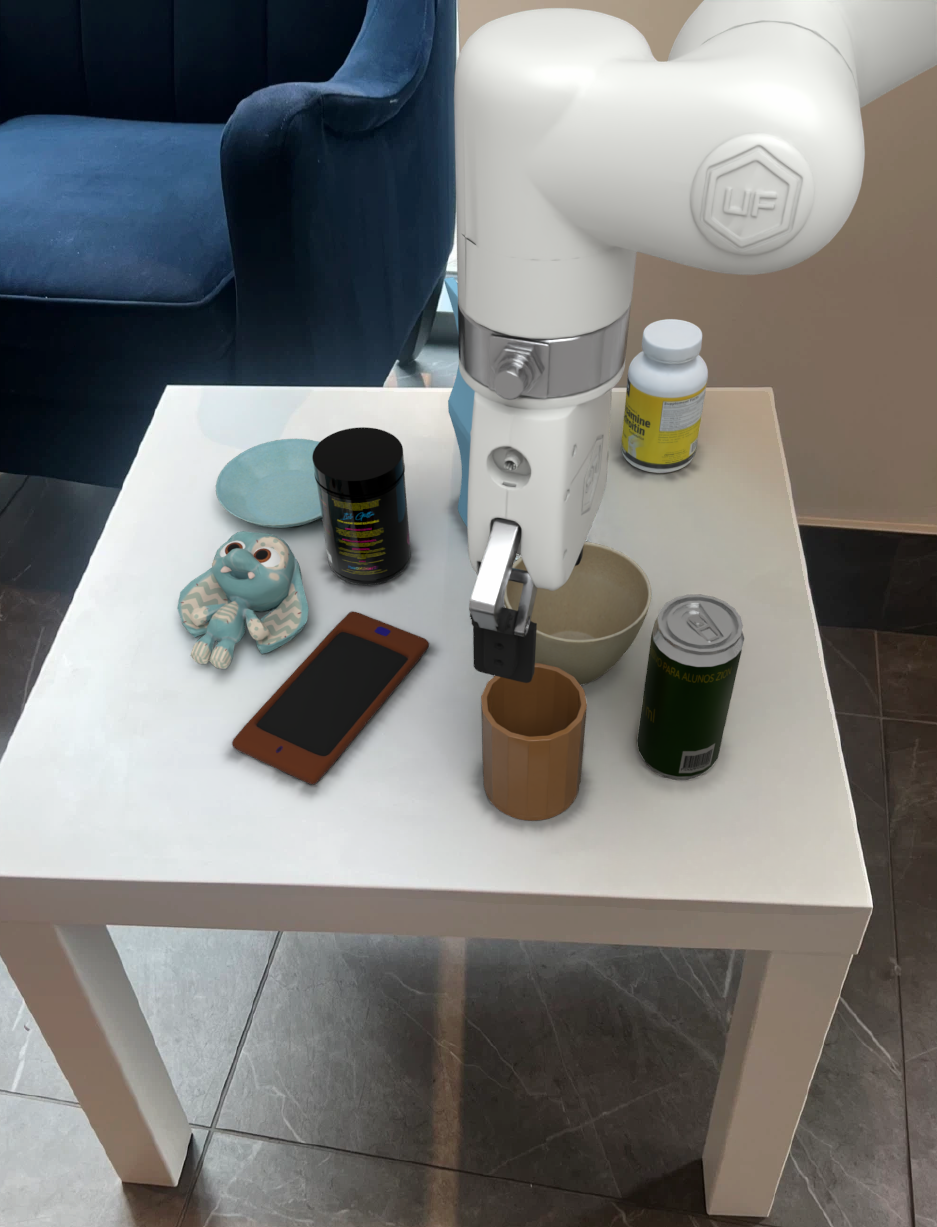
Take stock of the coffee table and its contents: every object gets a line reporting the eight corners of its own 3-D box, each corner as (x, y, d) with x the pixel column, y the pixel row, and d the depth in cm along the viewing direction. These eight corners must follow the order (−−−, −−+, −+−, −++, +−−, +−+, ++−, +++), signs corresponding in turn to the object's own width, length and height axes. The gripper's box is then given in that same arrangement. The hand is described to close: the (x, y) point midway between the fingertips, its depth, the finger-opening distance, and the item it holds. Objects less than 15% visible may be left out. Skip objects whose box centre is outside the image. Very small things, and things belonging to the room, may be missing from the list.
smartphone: (431, 638, 81) (313, 780, 72) (431, 647, 82) (315, 789, 73) (350, 606, 84) (228, 740, 75) (351, 616, 84) (230, 749, 76)
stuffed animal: (123, 614, 78) (197, 490, 84) (155, 670, 84) (223, 550, 90) (258, 647, 75) (326, 516, 81) (282, 702, 81) (344, 577, 87)
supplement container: (422, 577, 87) (414, 468, 80) (339, 598, 86) (323, 489, 78) (398, 526, 92) (389, 419, 84) (319, 545, 90) (302, 438, 83)
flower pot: (483, 692, 78) (482, 619, 73) (528, 601, 85) (529, 528, 79) (621, 728, 75) (629, 655, 70) (656, 631, 82) (667, 557, 76)
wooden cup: (550, 732, 76) (553, 650, 70) (597, 798, 71) (605, 717, 66) (467, 765, 74) (464, 684, 68) (511, 835, 70) (511, 754, 64)
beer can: (734, 764, 73) (766, 634, 64) (666, 795, 71) (688, 667, 63) (686, 711, 76) (710, 580, 67) (620, 739, 75) (635, 610, 66)
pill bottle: (621, 431, 99) (631, 311, 91) (694, 434, 98) (712, 313, 90) (619, 475, 95) (630, 353, 86) (696, 478, 94) (715, 355, 86)
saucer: (384, 508, 93) (382, 486, 92) (261, 564, 89) (257, 542, 88) (314, 444, 100) (310, 422, 99) (197, 493, 96) (191, 472, 95)
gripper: (573, 460, 43) (552, 743, 55) (666, 257, 54) (632, 532, 66) (393, 427, 45) (412, 707, 57) (518, 238, 56) (512, 508, 68)
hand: (530, 613), depth 62 cm, fingers open, 9 cm apart
